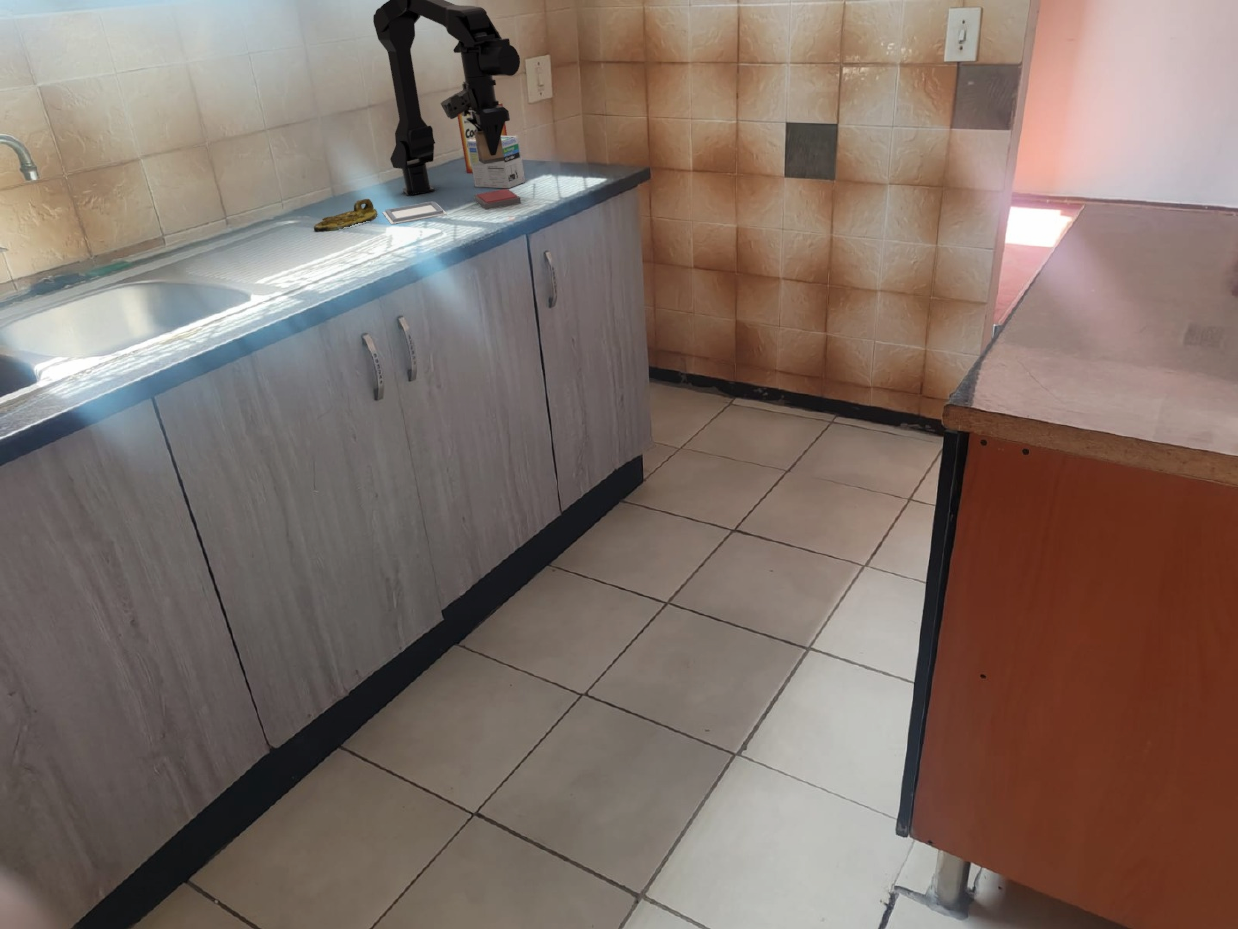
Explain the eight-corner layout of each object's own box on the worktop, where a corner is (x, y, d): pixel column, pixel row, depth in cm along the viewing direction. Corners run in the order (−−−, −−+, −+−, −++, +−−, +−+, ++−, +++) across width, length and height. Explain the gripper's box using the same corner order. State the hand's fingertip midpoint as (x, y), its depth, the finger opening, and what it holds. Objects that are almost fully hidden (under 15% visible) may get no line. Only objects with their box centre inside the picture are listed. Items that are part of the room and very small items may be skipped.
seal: (328, 241, 194) (388, 222, 202) (323, 219, 191) (385, 201, 200) (305, 230, 199) (364, 212, 208) (300, 209, 196) (361, 191, 205)
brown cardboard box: (479, 160, 201) (474, 132, 198) (499, 157, 202) (494, 128, 199) (484, 164, 197) (479, 134, 194) (504, 160, 199) (500, 131, 196)
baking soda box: (467, 172, 235) (455, 106, 228) (484, 167, 240) (473, 101, 232) (495, 174, 230) (484, 106, 223) (511, 168, 235) (502, 101, 227)
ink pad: (474, 200, 207) (473, 193, 207) (509, 194, 210) (508, 187, 209) (485, 209, 199) (484, 202, 198) (521, 203, 201) (520, 196, 200)
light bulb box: (526, 182, 219) (519, 134, 214) (508, 189, 215) (501, 140, 209) (491, 180, 225) (484, 134, 220) (473, 187, 220) (465, 140, 215)
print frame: (382, 213, 205) (382, 209, 205) (436, 203, 208) (435, 199, 208) (391, 224, 195) (390, 220, 195) (447, 214, 198) (446, 210, 198)
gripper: (431, 77, 197) (444, 153, 205) (449, 84, 182) (463, 166, 189) (482, 70, 200) (493, 145, 208) (504, 77, 185) (515, 157, 192)
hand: (490, 153), depth 199 cm, fingers closed on brown cardboard box, 4 cm apart
